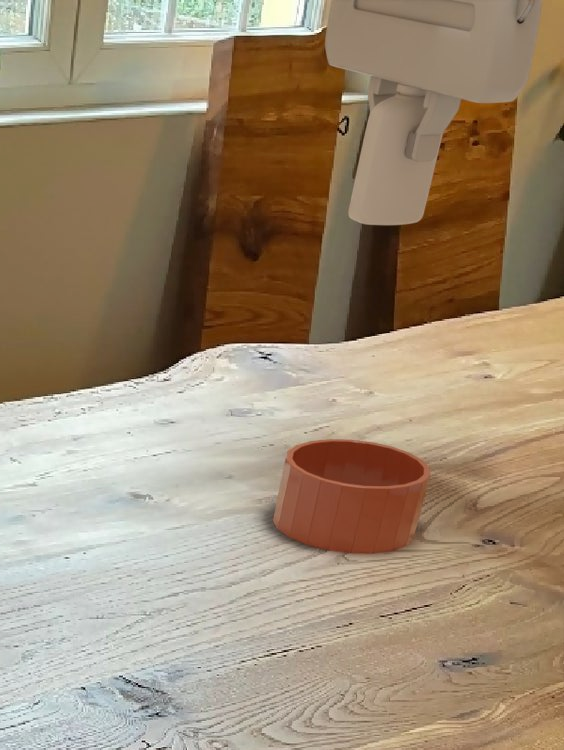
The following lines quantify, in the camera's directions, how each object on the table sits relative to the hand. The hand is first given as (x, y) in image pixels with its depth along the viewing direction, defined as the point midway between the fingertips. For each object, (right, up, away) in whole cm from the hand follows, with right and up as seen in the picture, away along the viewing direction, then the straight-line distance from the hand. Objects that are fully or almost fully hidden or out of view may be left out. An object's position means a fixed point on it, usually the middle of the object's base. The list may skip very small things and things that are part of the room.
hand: (399, 153), depth 111 cm
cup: (-3, -28, +5) cm, 29 cm away
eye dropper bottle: (0, -4, +3) cm, 5 cm away
